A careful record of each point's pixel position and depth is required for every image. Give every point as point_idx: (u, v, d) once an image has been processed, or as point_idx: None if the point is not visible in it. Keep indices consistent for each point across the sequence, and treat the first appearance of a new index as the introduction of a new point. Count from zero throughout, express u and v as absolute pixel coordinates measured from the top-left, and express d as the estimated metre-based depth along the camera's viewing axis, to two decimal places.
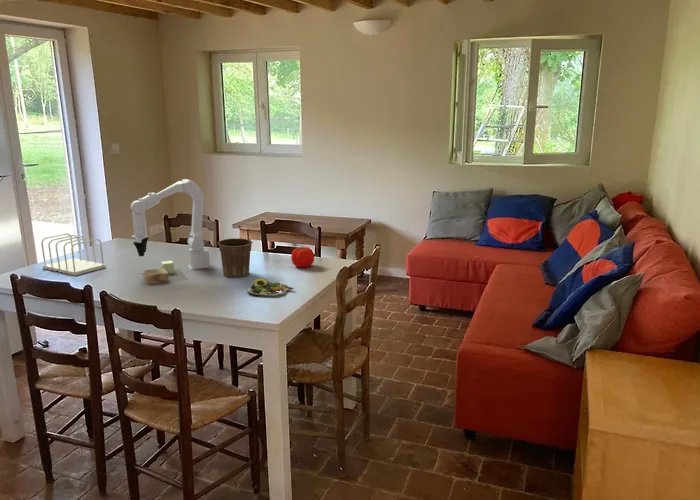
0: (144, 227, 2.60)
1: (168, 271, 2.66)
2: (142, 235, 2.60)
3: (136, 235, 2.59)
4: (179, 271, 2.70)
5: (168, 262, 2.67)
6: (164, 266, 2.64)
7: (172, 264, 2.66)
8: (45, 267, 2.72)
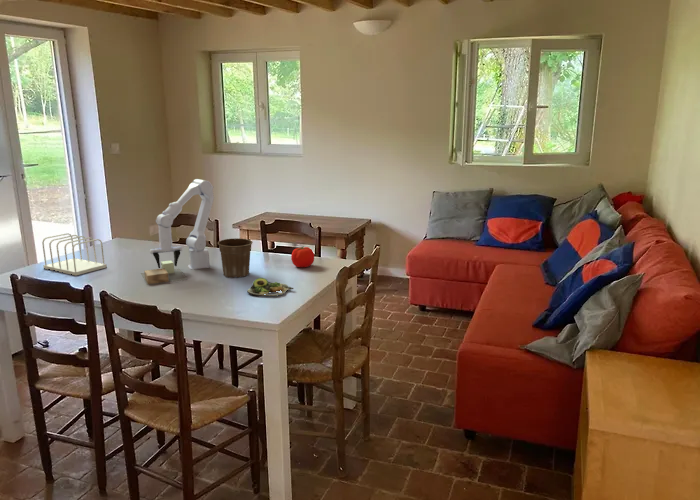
0: (162, 241, 2.62)
1: (168, 271, 2.66)
2: (160, 248, 2.63)
3: None
4: (179, 271, 2.70)
5: (168, 262, 2.67)
6: (164, 266, 2.64)
7: (172, 264, 2.66)
8: (46, 267, 2.73)
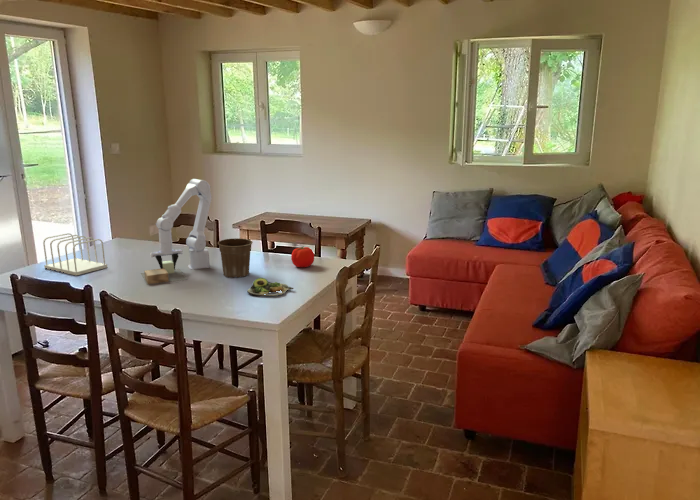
0: (163, 244, 2.62)
1: (168, 271, 2.66)
2: (161, 251, 2.64)
3: None
4: (179, 271, 2.70)
5: (168, 262, 2.67)
6: (164, 266, 2.64)
7: (172, 264, 2.66)
8: (47, 267, 2.73)
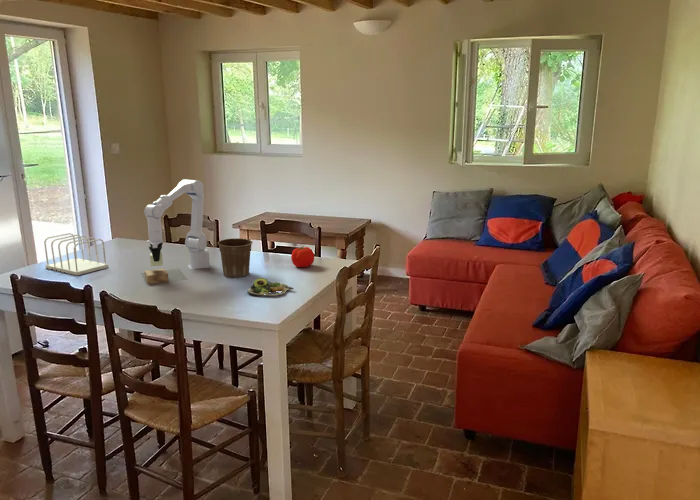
0: (159, 232, 2.52)
1: (162, 262, 2.57)
2: (157, 240, 2.51)
3: (151, 240, 2.51)
4: (179, 271, 2.70)
5: None
6: (161, 257, 2.54)
7: None
8: (48, 267, 2.73)
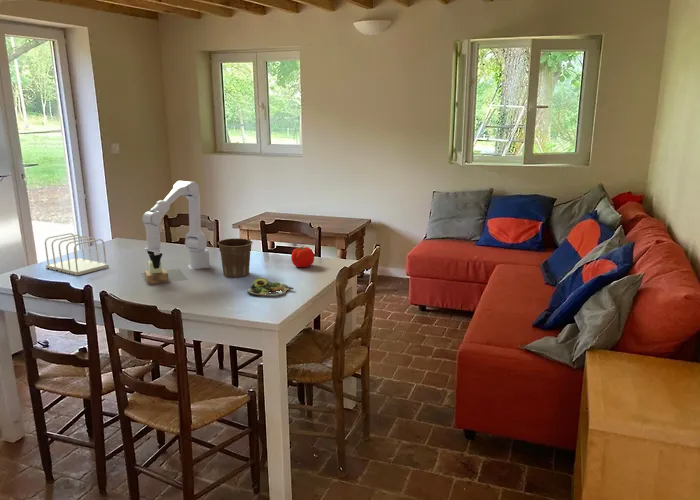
0: (159, 239, 2.50)
1: None
2: (157, 247, 2.50)
3: (151, 247, 2.49)
4: (179, 271, 2.70)
5: None
6: None
7: None
8: (48, 267, 2.73)
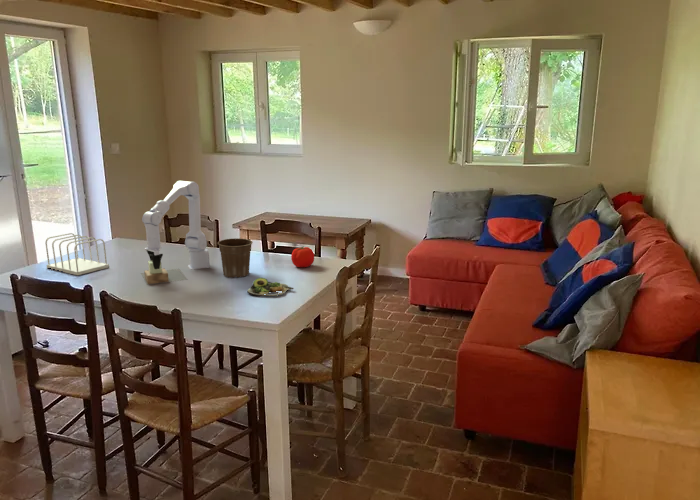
0: (159, 239, 2.50)
1: None
2: (157, 247, 2.50)
3: (151, 247, 2.49)
4: (179, 271, 2.70)
5: None
6: None
7: None
8: (49, 267, 2.73)
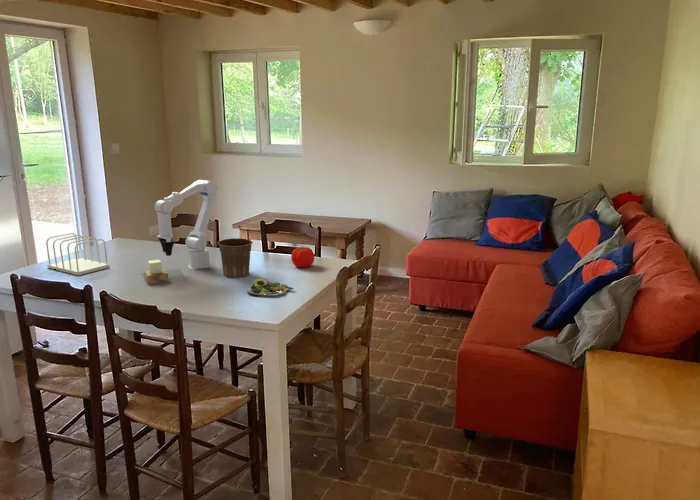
0: (170, 226, 2.60)
1: None
2: (169, 234, 2.60)
3: (163, 235, 2.59)
4: (179, 271, 2.70)
5: (155, 261, 2.54)
6: None
7: (159, 261, 2.56)
8: (50, 266, 2.73)
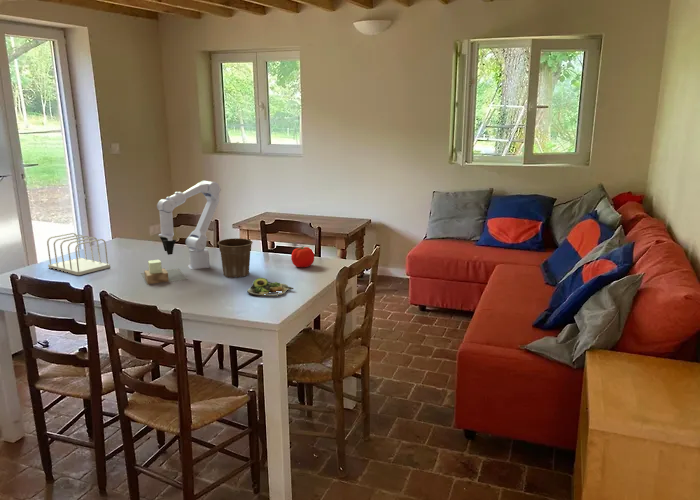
0: (172, 225, 2.62)
1: None
2: (170, 233, 2.61)
3: (164, 233, 2.60)
4: (179, 271, 2.70)
5: (155, 261, 2.54)
6: None
7: (159, 261, 2.56)
8: (50, 266, 2.74)
